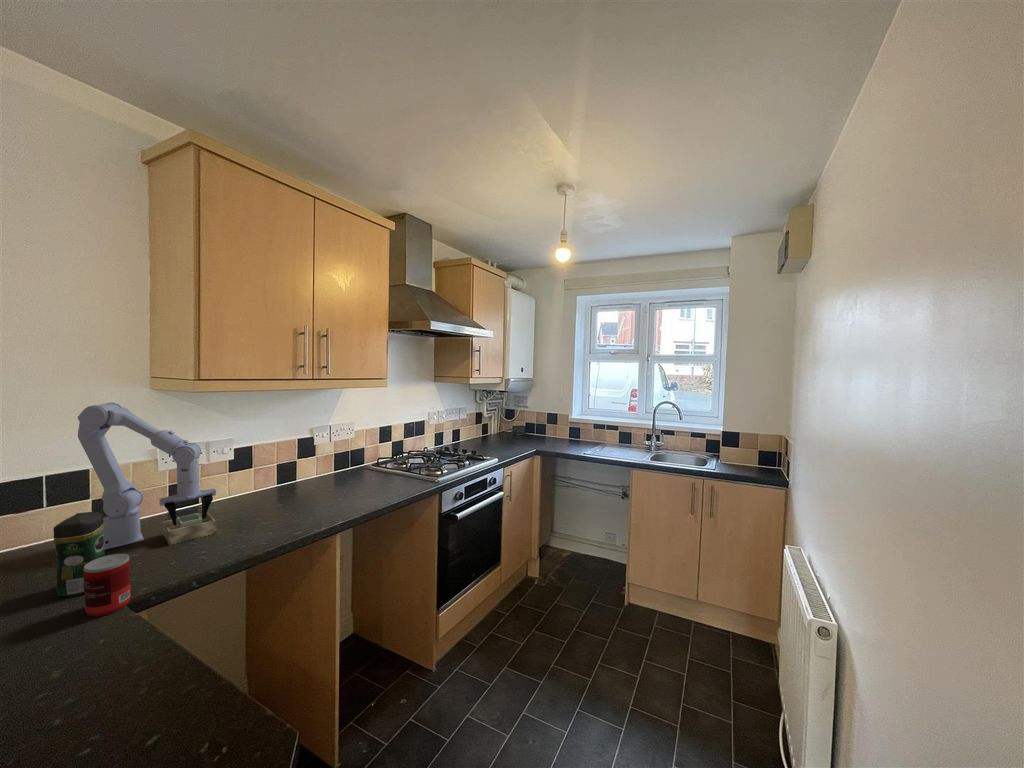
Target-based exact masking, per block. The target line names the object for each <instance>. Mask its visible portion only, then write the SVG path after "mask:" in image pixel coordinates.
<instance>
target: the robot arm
mask: <svg viewBox="0 0 1024 768" xmlns="http://www.w3.org/2000/svg"><path fill="white" fill-rule="evenodd" d="M77 419H78V421H79V424H78V430H77V438H78V441H79V443H80V444H81V446H82V449H83V451H84V452H85V454H86V456H87V458H88V460H89V461H90V462H89V463H90V464H91V466H92V469H93V470H94V472H95V474H96V475H97V478H98V480H99V481H100V484H101V486H102V488H103V492H102V494H101V500H102V502H103V504H102V505H103V506H102V511H103V512H104V514H105V515H106V516H105V517H103V521H104V531H103V538H104V551H105V550H109V549H113V548H117V547H122V546H126V545H130V544H134V543H139V542H143V541H144V539H145V538H144V536H143V533H142V532H141V509H140V505H141V504H142V503H143V500H144V494H143V493H142V491H140V490H139V489H137V487H136V486H135V484H134V483H133V482H130V481H128V480H127V478H126V476H125V474H124V473H123V470H122V469H121V466H120V465H119V462H118V460H117V459H116V456H115V454H114V452H113V450H112V448H111V446H110V444H109V442H108V441H107V437H106V434H107V432H108V431H109V430H110V428H111V427H118V426H119V427H120V426H121V427H126V428H127V429H130V430H132V431H133V432H135V433H137V434H140V435H141V436H143V437H145V438H147V439H149V440H150V443H151V444H150V445H152V446H153V447H155V448H156V449H159V450H160V451H163V452H164V453H166V454H167V455H169V456H170V457H172V460H173V461H174V463H176V490H177V491H176V492H177V493H176V494H174V495H170V496H169V495H168V496H164V497H161V498H159V500H158V501H159V506H164V507H165V508H166V510H167V512H168V513H169V515H170V518H171V519H170V520H172V522H173V525H174V526H175V525H177V521H176V519H177V506H176V503H180V502H185V501H190V500H196V499H201V513H202V518H203V519H206V514H207V512H209V507H210V506H211V503H212V502H213V499H214V496H217V489H216V488H210V489H202V490H200V466H199V465H200V463H199V457H200V455H201V453H202V449H201V446H199V445H198V444H197V443H196V442H190V441H189V440H187V439H183V438H181V437H180V436H178V435H176V432H175V431H173V430H167V429H164V430H159V429H158V428H157V427H155V426H153V425H152V424H150V423H148V422H146V420H144V419H142V418H140V417H139V416H137V415H136V414H134V413H133V412H132V411H130V409H128V408H127V407H124V406H122V405H120V404H119V403H116V402H106V403H102V404H97V405H96V404H95V405H94V404H93V405H89V406H87V407H85V408H84V409H83V410H82V411H81V412H80V414H78V415H77Z"/></svg>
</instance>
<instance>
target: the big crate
mask: <svg viewBox="0 0 1024 768" xmlns="http://www.w3.org/2000/svg"><path fill="white" fill-rule="evenodd" d="M198 515H199V516H200V517H201V518H202V512H201V513H198ZM176 521H177V518H176ZM162 532H163V533H162V534H163V537H164V540H165V541H166V542H167V544H168V546H173V544H174V545H177V543H178V544H182V543H185V542H184V541H186V542H189V541H188V540H190V541H193V540H192V539H194V540H197V539H196V538H198V539H201V538H200V537H202V538H205V537H204V536H206V537H208V535H210V536H213V535H212V534H214V535H217V520H216V519H215V517H213V516H212V514H211V513H210V512H209V511H207V514H206V519H203V518H202V523H201V524H197V525H192V526H188V527H183V528H179V529H177V525H175V526H174V525H173V522H172V519H169V520H164V521H162ZM181 542H182V543H181Z"/></svg>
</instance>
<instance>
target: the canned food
mask: <svg viewBox="0 0 1024 768" xmlns="http://www.w3.org/2000/svg"><path fill="white" fill-rule="evenodd" d="M130 562H131V561H130V555H129V554H127V553H114V554H109V555H105V556H104V557H101V558H98V559H95V560H93V561H91V562H89V563H87V564H86V565H85V566H84V569H83V572H84V593H83V595H84V608H85V609H84V610H85V613H86V615H87V616H89V617H102V616H106V615H110V614H113V613H115V612H117V611H120V610H122V609H123V608H125V607H126V606H127V605H129V603H130V602H131V598H132V589H131V587H132V586H131V563H130Z"/></svg>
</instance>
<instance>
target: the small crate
mask: <svg viewBox="0 0 1024 768" xmlns="http://www.w3.org/2000/svg"><path fill="white" fill-rule="evenodd" d="M198 514H199V513H198V512H195V513H191V514H186V515H182V516H176V519H177V529H179V528H183V527H188V526H192V525H197V524H201V523H202V518H201V517H200V516H199V515H198Z"/></svg>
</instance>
